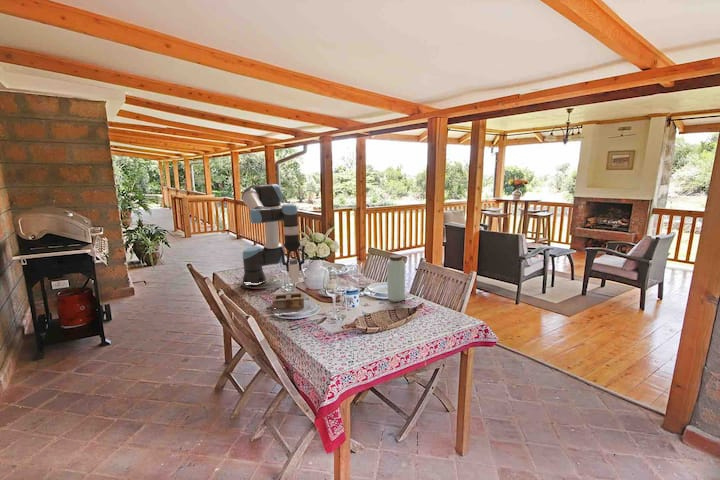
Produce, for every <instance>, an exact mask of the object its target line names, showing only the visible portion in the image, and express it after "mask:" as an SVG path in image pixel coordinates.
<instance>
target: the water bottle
mask: <svg viewBox="0 0 720 480" xmlns="http://www.w3.org/2000/svg"><path fill="white" fill-rule="evenodd" d="M405 264H406V263H405V261H404V259H403V256H402V255H400V254H391V255H389V259H388V260H387V262H386V269H387V270H386V272H387V273H386V274H387V276H386V277H387V279H386V280H387V284H386V285H387V298H388V300H389V301H391V302H396V303H397V302H401V301H404V300H405V298H406V294H405V293H406V291H405V290H406V289H405V288H406V287H405V286H406V285H405V284H406V283H405V281H406V280H405V278H406V276H405V274H406V273H405V271H406V270H405V268H406V266H405Z"/></svg>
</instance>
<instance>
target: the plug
mask: <svg viewBox="0 0 720 480" xmlns="http://www.w3.org/2000/svg"><path fill="white" fill-rule="evenodd" d="M298 264H299V263H298V260H297V258H289V265H290V275H291V278H290V284H294V283H295V284H296V283H299V282H300V277H298Z"/></svg>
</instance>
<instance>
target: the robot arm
mask: <svg viewBox="0 0 720 480" xmlns="http://www.w3.org/2000/svg"><path fill="white" fill-rule="evenodd" d="M241 200H242V202H243V204H244V205H246V206H247V207H248V209H249V221H250V223H251V224H262V223H263V224H264V231H265V235H264V236H265V243H264V244H263V248H262V247H260V246H258V245H257V246H250V247H248V248H246V249H244V250H243V251H242V260H243V261H242V262H243V277H242V284H243V283H244V282H251V283H259V282H263V281H265V280H266V281H267V277H266V275H265V272H264V269H263V267H264V266H272V265H279V264H282V266H285V267H286V272H288V277H289V279H291V275H290V262H289V260H290V259H291V258H290V256H291V253H292V252H295V256H296V259H297V262H298V277H299V278H300V277H301V276H300V274H301V273H300V272H301V271H302V265H303V264H305V248H306V244H301V242H300V234H299V222H298V221H299V220H298V218H299V217H298V208H297V205H296V204H294V203H292V204H291V203H287V204H283V205H282V206H280V205H281V203H282V202H283V193H282V189H281V187H280V186H279V184H276V183H265V184H263V183H262V184H253V185H250V186H247V187H246V188H245V189H244V190H243V191H242V194H241ZM279 222H283V234H284V235H283V237H284V243H283V245H282V243H281V242H280V232H279ZM299 248H300V249H301V258H300V255H299ZM285 249H286V250H287V256H286V257H285V255H286V251H285Z"/></svg>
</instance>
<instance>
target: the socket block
mask: <svg viewBox="0 0 720 480" xmlns="http://www.w3.org/2000/svg"><path fill="white" fill-rule="evenodd" d="M304 294H305V293H304V292H302V291H300V292H290V293H289V292H288V293H278V294H273V298H272V310H273V309H274V308H276V309H282V310H292V309H304V308H305V300H304Z"/></svg>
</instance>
